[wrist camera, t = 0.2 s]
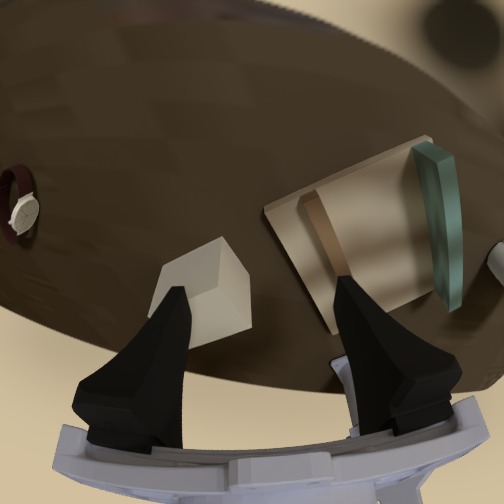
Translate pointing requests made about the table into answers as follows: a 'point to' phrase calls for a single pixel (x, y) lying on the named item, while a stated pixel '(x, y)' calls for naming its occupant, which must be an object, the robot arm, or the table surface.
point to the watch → (25, 208)
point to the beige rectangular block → (209, 291)
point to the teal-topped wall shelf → (378, 229)
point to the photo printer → (497, 261)
